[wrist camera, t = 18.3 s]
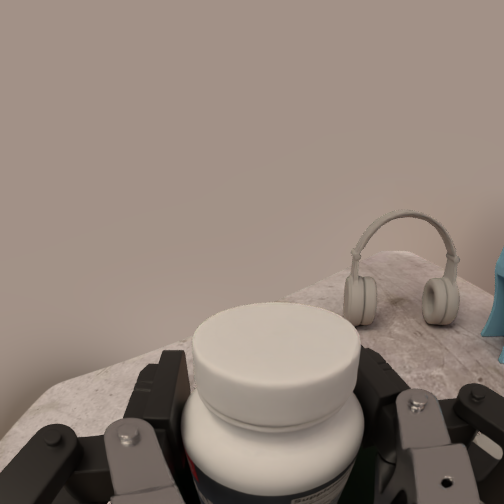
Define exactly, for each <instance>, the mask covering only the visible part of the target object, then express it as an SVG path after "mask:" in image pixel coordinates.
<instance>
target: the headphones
mask: <svg viewBox="0 0 504 504" xmlns="http://www.w3.org/2000/svg"><path fill="white" fill-rule="evenodd" d="M403 217H413V218H419V219H423V220H425V221H427V222H429V223H430V224H431V225H432V226H434V227H435V228H436V229H437V231H438V232H439V234H440V235H441V237H442V239H443V241H444V243H445V246H446V249H447V254H446V257H447V258H448V259H447V264H446V268H445V272H444V275H443V277H442V278H432V279H430V280H428V281H427V283H426V285H425V287H424V291H423V296H422V311H423V316H424V319H425V321H426V322H427V323H429V324H439V325H448V324H450V323H452V322H453V320H454V319H455V317H456V315H457V313H458V309H459V302H460V296H459V289H458V286H457V284H456V276H457V263H459V261H460V258H459V257H458V256H457V254H456V250H455V247H454V244H453V241H452V239H451V237H450V235H449V233H448V232H447V230H446V229H445V228H444V226H443V225H442V224H441V223H440V222H438V221H437V220H436V219H434V218H433V217H431V216H429V215H427V214H424V213H421V212H417V211H413V210H397V211H393V212H390V213H388V214H385V215H383V216H382V217H380V218H378V219H377V220H376V221H375V222H373V223H372V224H371V225H370V226H369V227H368V228H367V230H366V231H365V232H364V233H363V235H362V236H361V238H360V240H359V242H358V243H357V245H356V247H355V248H353V249H352V250H351V254H352V256H353V259H352V268H351V274H350V276H349V277H348V278H347V279H346V282H345V289H344V304H343V317H344V318H345V319H346V320H348V321H349V322H350V323H351V324H352V325H353V326H357V325H359V324H361V325H369V324H371V323H372V322H373V320H374V317H375V313H376V307H377V287H376V282H375V280H374V279H373V278H372V277H363V278H362V277H361V276H358V268H359V260H360V259H361V255H360V253H361V251H362V250H363V249H364V247H365V246H366V244H367V242H368V241H369V239H370V238H371V237H372V235H373V234H374V233H375V232H376V231H377V230H378V229H379V228H380V227H381V226H382V225H384V224H385V223H387V222H389V221H391V220H393V219H396V218H403Z"/></svg>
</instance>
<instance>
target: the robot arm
mask: <svg viewBox="0 0 504 504" xmlns="http://www.w3.org/2000/svg"><path fill="white" fill-rule="evenodd" d="M353 393H354V394H355V395H356V397H357V399H358V401H359V403H360V405H361V407H362V411H363V415H364V433H363V438H362V442H361V446H362V448H363V449H365V448H369V447H372V446H376V448H377V453H376V455H375V488H374V503H373V504H481V503H480V500H481V501H482V502H483V503H484V504H504V397H502V396H501V395H499V394H497V393H496V392H494V391H492V390H491V389H489V388H488V387H486V386H484V385H481V384H475V383H472V384H467V385H464V386H463V387H462V388H461V389H460V391H459V393H458V396H457V398H454V399H445V400H437V398H436V397H435V396H434V395H433V394H432V393H430V392H428V391H426V390H422V389H411V388H410V387H409V386H408V385H407V384H406V383H405V382H404V381H403V380H402V378H401V377H400V376H399V375H398V374H397V373H396V372H395V371H394V370H393V369H392V367H391V366H390V365H389V364H388V363H386V361H385V360H384V359H383V357H382V356H381V355H380V354H379V353H377V352H375V351H373V350H371V349H369V348H364V347H363V346H362V345H361V350H360V358H359V365H358V371H357V380H356V385H355V388H354V390H353ZM189 396H190V383H189V377H188V370H187V364H186V357H185V352H184V350H163V351H162V354H161V357H160V361H159V364H148V365H147V366H146V367H145V368H144V369H143V370H142V371H141V372H140V374H139V376H138V379H137V383H136V384H135V387H134V391H133V392H132V395H131V397H130V400H129V403H128V406H127V408H126V411H125V414H124V417H123V419H120V420H117V421H115V422H113V423H112V424H111V425H109V426H108V428H107V429H106V431H105V433H104V435H99V436H90V437H77V436H76V434H75V432H74V431H73V430H72V429H71V428H70V427H68V426H66V425H63V424H51V425H47V426H45V427H43V428H41V429H40V430H39V431H38V432H37V433H36V434H35V435H34V436H33V437H32V438H31V439H30V440H29V441H28V443H27V444H26V445H25V446H24V447H23V448H22V449H21V450H20V451H19V453H18V454H17V455H16V456H15V457H14V458H13V459H12V460H11V462H10V463H9V464H8V465H7V466H6V467H5V468H4V470H3V471H2V472H1V473H0V504H107V503H108V501H111V504H185V502H184V500H183V498H182V496H181V494H180V492H179V490H178V487H177V485H176V484H175V482H174V469H183V470H184V465H185V450H184V446H183V441H182V435H181V415H182V411H183V408H184V405H185V403H186V401H187V399H188V397H189ZM479 431H480V432H481V433H482V434H484V435H485V436H486V437H488V438H489V439H491V440H492V441H493V442H495V443H496V444H498V445H499V446H500V447H501V448H502V451H503V455H502V458H501V459H496V458H494V457H493V456H491V455H490V454H489V453H487V452H486V451H485V450H483V449H482V448H481V447H479V446H478V445H477V444H475V443H474V442H473V440H474V439H475V437H476V435H477V434H478V432H479Z"/></svg>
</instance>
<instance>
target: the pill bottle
mask: <svg viewBox="0 0 504 504" xmlns="http://www.w3.org/2000/svg"><path fill="white" fill-rule="evenodd" d="M360 350H361V341H360V336H359V333H358V331H357V330H356V328H355V327H354V326H353V325H352V324H351V323H350V322H349V321H348V320H346V319H345V318H343V317H341V316H340V315H338V314H336V313H333V312H331V311H329V310H326V309H322V308H319V307H315V306H309V305H303V304H297V303H283V302H269V303H258V304H249V305H244V306H238V307H234V308H231V309H227V310H224V311H222V312H219V313H217V314H215V315H213V316H212V317H210V318H208V319H207V320H205V321H204V322H203V323H202V324H201V325H200V326H199V327H198V328H197V330H196V331H195V333H194V335H193V339H192V354H193V364H194V380H195V384H196V388H195V389H194V390H193V392H192V393H191V394H190V396H189V397H188V399H187V401H186V403H185V405H184V408H183V411H182V415H181V435H182V441H183V446H184V450H185V453H186V456H187V460H188V463H189V466H190V470H191V473H192V476H193V480H194V483H195V486H196V489H197V492H198V495H199V498H200V501H201V504H337V502H338V500H339V497H340V495H341V493H342V491H343V489H344V486H345V484H346V482H347V479H348V477H349V475H350V472H351V470H352V467H353V465H354V462H355V460H356V457H357V455H358V452H359V449H360V446H361V442H362V438H363V433H364V415H363V411H362V407H361V405H360V403H359V401H358V399H357V397H356V395H355V394H354V393H353V390H354V388H355V385H356V380H357V371H358V365H359V358H360Z"/></svg>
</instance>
